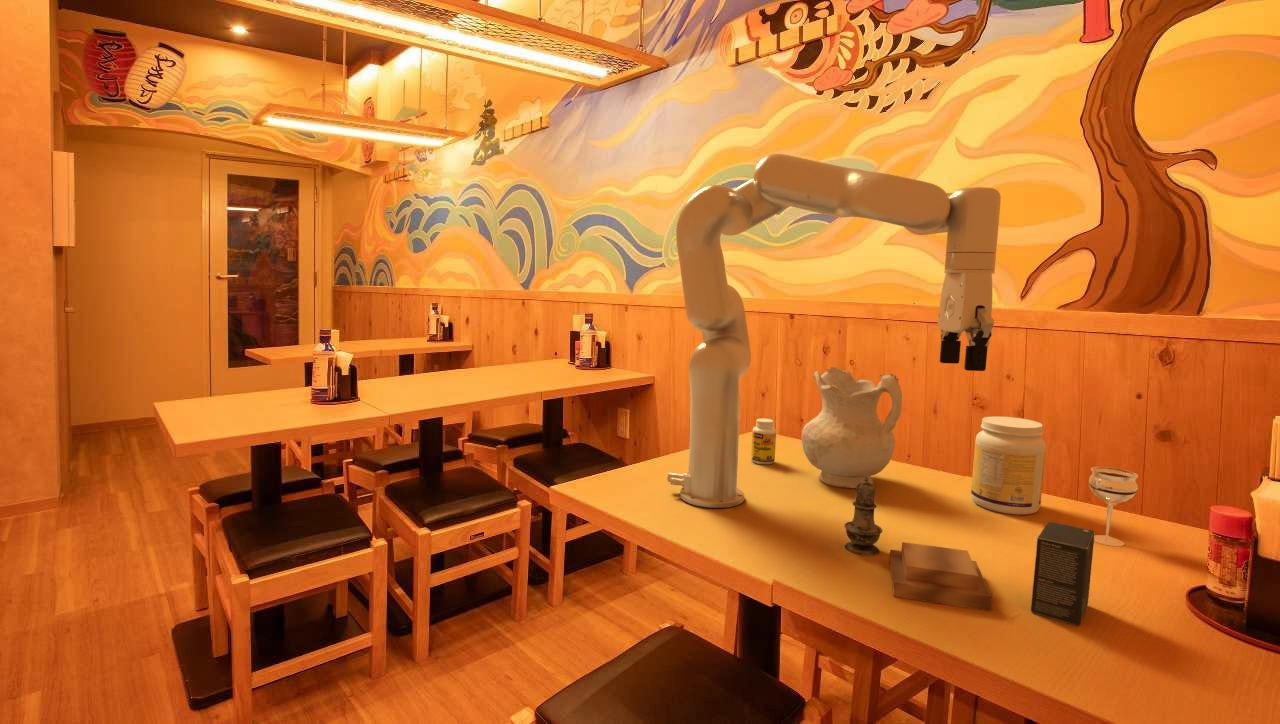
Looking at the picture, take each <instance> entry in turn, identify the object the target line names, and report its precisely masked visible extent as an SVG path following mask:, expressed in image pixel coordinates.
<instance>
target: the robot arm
mask: <svg viewBox="0 0 1280 724" xmlns="http://www.w3.org/2000/svg"><path fill="white" fill-rule="evenodd" d="M752 176H753V177H752V179H750V180H749V181H746V182H744V183H743V184H741V185H740V186H737V188H734V189H733V188H731V187H729V186H727V185H721V184H712V185H708V186H705V187H703V188H701V189H700V190H698V191H697V192H695V193H694V194H693V195H692V196H691V197H690V198H689V199H688V200H687V201H686V203H685V204H684V205H683V207H682V209H681V211H680V213H679V216H678V219H677V223H676V231H675V232H676V233H675V236H676V248H677V255H678V260H679V267H680V268H679V269H680V278H681V285H682V292H683V298H684V306H685V314H686V317H687V319H688V322H689V323H690V324H691V326H692V327H694V328H695V329H696V330H698V331H701V335H702V340H703V341H702V342H701V343H699V344H698V345H697V346H696V348H694V350H693V351H692V353H691V355H690V359H689V361H688V362H689V363H688V381H689V393H690V395H689V396H690V405H689V406H690V408H689V409H690V410H689V411H690V412H689V419H690V420H689V422H690V423H689V446H688V447H689V448H688V449H689V450H688V472H683V473H677V472H670V471H669V472H668V474H667V482H668V483H669V484H670V485H671V486H681V488H680V490H679V496H680V499H681V500H682V501H684V502H686V503H687V504H690V505H693V506H697V507H701V508H702V507H703V508H711V509H712V508H714V509H721V508H722V509H723V508H732V507H735V506H738V505H740V504H741V505H742V503H743V502H744V501H745V493H744V491H742V490H741V489H740V488H739V487H738V484H737V483H738V460H739V441H740V440H739V438H740V435H739V434H740V433H739V432H740V411H741V409H740V407H741V406H740V405H741V403H740V399H741V398H740V379H741V378H742V377H744V375H745V374H747V372H748V370H749V368H750V366H751V362H752V360H751V359H752V356H751V355H752V352H751V345H750V338H749V337H750V336H749V330H748V324H747V318H746V317H747V316H746V311H745V305H744V302H743V299H742V296H741V294H740V293H739V292H738V290H736V289H735V287H733V286H732V285H730V284H728V278H727V273H726V266H725V265H726V264H725V259H724V253H723V251H722V246H721V235H723V236H724V235H725V236H736V235H739V234H742V233H744V232H747V231H748V230H750V229H752V228H754V227H756V226H757V225H759V224H761V223H763V222H764V221H766V220H768V219H770V218H772V217H774V216H775V215H777V214H780V213H781V212H782V211H785V210H786V209H787V208H789V207H792V208H796V209H801V210H805V211H809V212H813V213H816V214H817V213H818V214H821V215H826V216H828V217H829V216H830V217H835V218H860V219H861V218H863V219H869V220H874V221H879V222H882V223H883V222H884V223H888V224H892V225H895V226H899V227H903V228H904V229H905V230H907V231H908V232H909V233H911V234H913V235H918V236H928V235H936V234H942V233H946V234H947V235H946V236H947V237H946V248H945V260H944V261H945V262H944V270H943V271H944V274H945V275H944V279H943V283H942V287H941V295H940V300H939V307H938V308H939V310H938V317H937V327H938V328H939V329H940V330H941V333H940V349H939V351H940V352H939V353H940V354H939V362H940V364H953V365H954V364H959V363H960V357H961V345H962V341H961V340H959V339H960V338H961V335H962V333H963V332H965V335H966V339H967V343H968V345H965V355H964V357H965V358H964V365H963V366H964V368H963V369H964V370H965V371H968V372H969V371H970V372H971V371H972V372H984V371H986V369H987V358H988V348H989V346H990V338H991V337H992V330H993V328H994V325H995V320H994V319H993V317H992V314H993V313H992V312H993V275H994V274H995V269H996V260H997V246H998V236H999V225H1000V213H1001V212H1000V211H1001V200H1002V199H1001V198H1002V197H1001V193H1000V192H999V190H997V189H996V188H993V187H984V186H983V187H982V186H981V187H980V186H979V187H978V186H977V187H967V188H966V187H965V188H960V189H957V190H955V191H954V192H951V193H950V192H946V191H945V190H944V189H943V188H942V187H940V186H938V185H937V184H934V183H931V182H927V181H923V180H919V179H918V180H917V179H914V178H909V177H903V176H900V175H895V174H889V173H882V172H877V171H868V170H864V169H863V170H862V169H858V168H851V167H846V166H840V165H836V164H832V163H831V164H829V163H827V162H822V161H816V160H813V159H808V158H802V157H799V156H793V155H789V154H784V153H783V154H782V153H773V154H768V155H767V156H764V157H763V158H762V159H761V160H760V161H759V162H758V163H757V165H756V166H755V169H754V171H753V175H752Z"/></svg>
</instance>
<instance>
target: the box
mask: <svg viewBox="0 0 1280 724" xmlns="http://www.w3.org/2000/svg"><path fill="white" fill-rule="evenodd" d="M1094 535H1095V531H1094V530H1093V529H1086V528H1083V527H1079V526H1073V525H1067V524H1065V523H1064V524H1063V523H1059V522H1054V521H1053V522H1052V521H1047V522H1046V524H1045V525H1044V527H1043V529H1042V531H1041V532H1040V534H1039V535H1038V536H1037V538H1036V547H1035V548H1036V550H1035V563H1034V573H1033V584H1032V594H1031V595H1032V596H1031V605H1030V606H1031V607H1030V612H1031V613H1032V614H1035V615H1037V616H1041V617H1046V618H1050V619H1053V620H1054V621H1055V620H1056V621H1060V622H1062V623H1065V624H1069V625H1074V626H1077V627H1079V626H1080V625H1081V624H1082V620H1083V618H1084V615H1085V614H1086V613H1085V612H1086V610H1087V607H1088V604H1089V594H1090V587H1091V585H1090V584H1091V576H1092V564H1093V555H1094V554H1093V553H1094V542H1095V541H1094Z"/></svg>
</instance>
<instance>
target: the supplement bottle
mask: <svg viewBox="0 0 1280 724" xmlns="http://www.w3.org/2000/svg"><path fill="white" fill-rule="evenodd" d="M755 425H756V426H754V427H753V428H752V434H751V455H750V457H751V458H750V460H751V462H752V463H755V464H758V465H764V466H765V465H771V464H773V463H775V460H776V459H775V458H776V445H777V444H776V442H777V429H776V428H774V420H773V419H770V418H757V419H756V423H755Z"/></svg>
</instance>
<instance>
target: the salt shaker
mask: <svg viewBox="0 0 1280 724" xmlns="http://www.w3.org/2000/svg"><path fill="white" fill-rule="evenodd" d="M864 480H865V481H864V482H861V483H859V484H858V485H857V487H856V488H855V489H856V491H855V501H854V502H852V506H854V511H853V512H854V514H853V518H852V521H847V522H845V523H844V526H843V527H844V529H845V533H846V535H847V538H848V539H849V540H850V541H849V542H847V543H846V544H844V548H845V550H846V551H848V552H850V553H852V554H856V555H859V556H876V555H878V554H879V553H880V549H879V547H877V545H875V544H876V543H877V542H878V541H879V539H880V537H881V534H882V533H883V528H882V526H879V525H877V524H876V523H875V509H876V508H877V507H878V506H877V505H876V504H875V496H876V487H875V484H874V485H872V484H871V483H869V482H868V480H869V479H868V478H867V477H866V478H865V479H864Z"/></svg>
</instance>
